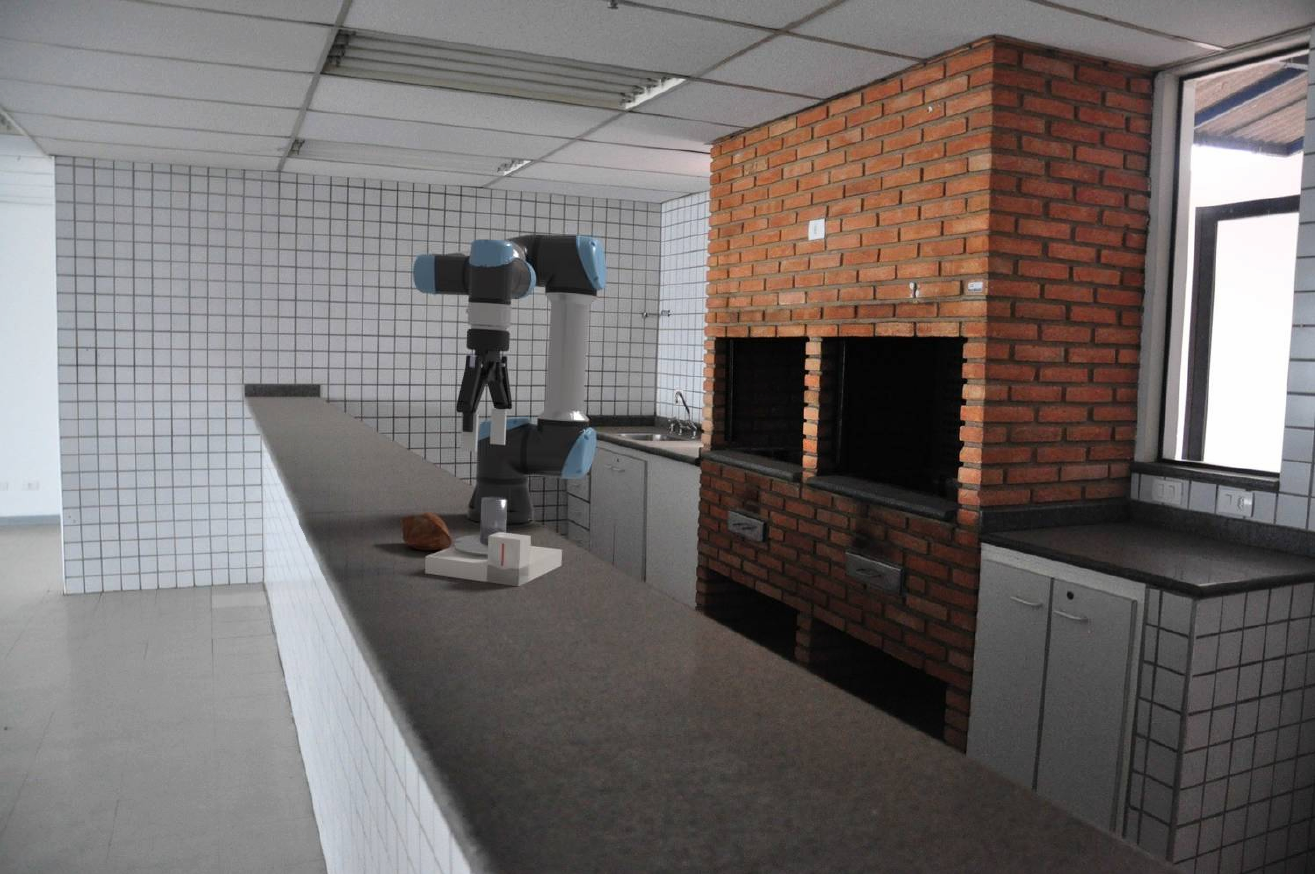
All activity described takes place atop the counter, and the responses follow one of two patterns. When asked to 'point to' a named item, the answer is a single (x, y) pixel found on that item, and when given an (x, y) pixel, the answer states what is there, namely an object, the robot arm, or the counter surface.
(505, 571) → the scale
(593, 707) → the counter surface
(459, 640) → the counter surface
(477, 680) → the counter surface
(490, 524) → the metal cylinder
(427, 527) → the brown lumpy chunk
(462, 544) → the pan
